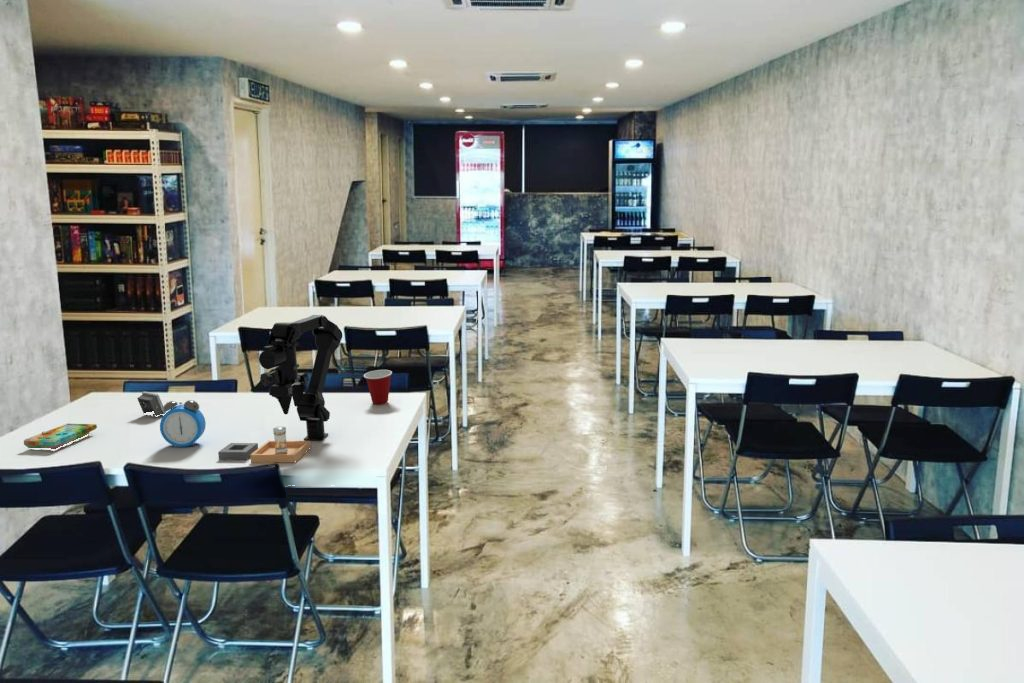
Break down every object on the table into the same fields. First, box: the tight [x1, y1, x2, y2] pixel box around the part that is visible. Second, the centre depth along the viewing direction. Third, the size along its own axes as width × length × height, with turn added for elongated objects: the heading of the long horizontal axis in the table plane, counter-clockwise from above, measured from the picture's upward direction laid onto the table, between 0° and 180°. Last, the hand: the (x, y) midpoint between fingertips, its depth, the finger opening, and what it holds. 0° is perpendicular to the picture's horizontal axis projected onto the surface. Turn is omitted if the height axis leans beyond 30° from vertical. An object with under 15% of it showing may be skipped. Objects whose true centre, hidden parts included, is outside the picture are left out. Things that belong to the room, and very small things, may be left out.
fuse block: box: [217, 442, 259, 461], centre depth 262 cm, size 9×9×2 cm
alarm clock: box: [159, 399, 207, 448], centre depth 273 cm, size 13×6×15 cm, turn 93°
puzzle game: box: [23, 422, 98, 449], centre depth 281 cm, size 12×5×20 cm
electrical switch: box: [136, 391, 167, 416], centre depth 310 cm, size 9×5×9 cm, turn 57°
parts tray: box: [250, 440, 311, 464], centre depth 260 cm, size 14×14×2 cm
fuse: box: [272, 426, 288, 454], centre depth 260 cm, size 4×4×8 cm
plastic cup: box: [363, 369, 393, 406], centre depth 318 cm, size 11×11×12 cm
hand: (291, 410), depth 264 cm, fingers open, 9 cm apart
